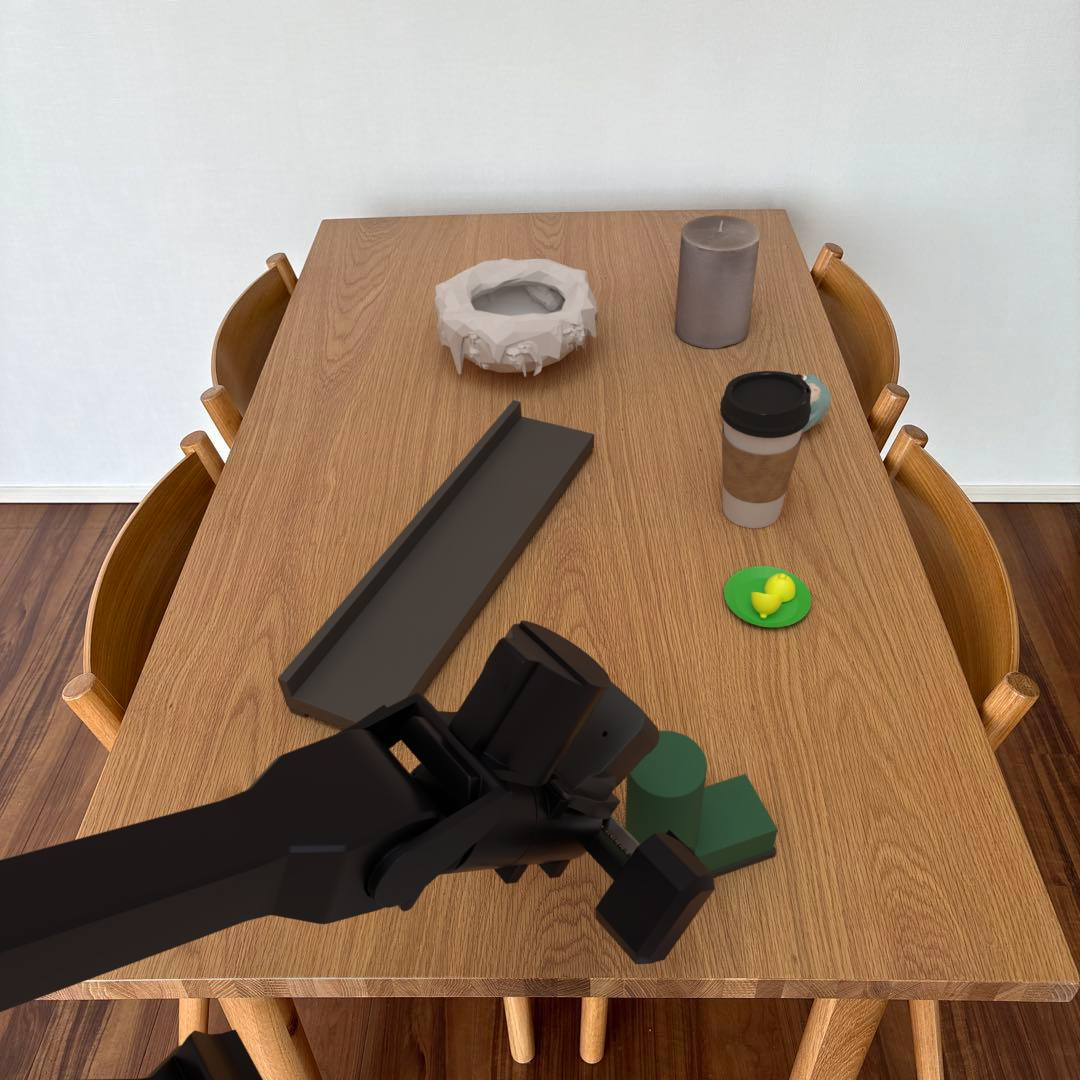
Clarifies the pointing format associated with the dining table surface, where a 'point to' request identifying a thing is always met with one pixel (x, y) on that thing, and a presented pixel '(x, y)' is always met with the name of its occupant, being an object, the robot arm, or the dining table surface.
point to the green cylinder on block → (698, 807)
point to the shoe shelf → (436, 573)
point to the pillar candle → (716, 280)
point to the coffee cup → (761, 443)
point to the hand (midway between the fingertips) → (640, 807)
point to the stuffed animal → (816, 399)
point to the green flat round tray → (767, 596)
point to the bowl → (515, 314)
